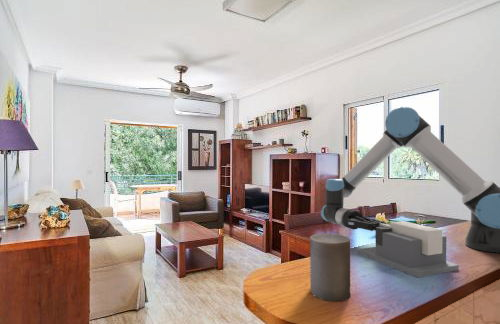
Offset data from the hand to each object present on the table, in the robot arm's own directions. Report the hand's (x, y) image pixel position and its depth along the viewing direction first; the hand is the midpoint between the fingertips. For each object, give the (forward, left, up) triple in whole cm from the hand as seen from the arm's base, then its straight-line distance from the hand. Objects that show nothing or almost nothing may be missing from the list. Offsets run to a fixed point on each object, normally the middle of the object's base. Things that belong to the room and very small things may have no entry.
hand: (395, 231), depth 103 cm
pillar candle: (+23, +33, -9) cm, 42 cm away
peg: (-4, +6, -4) cm, 8 cm away
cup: (-13, -19, -9) cm, 24 cm away
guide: (-2, +3, -9) cm, 10 cm away
